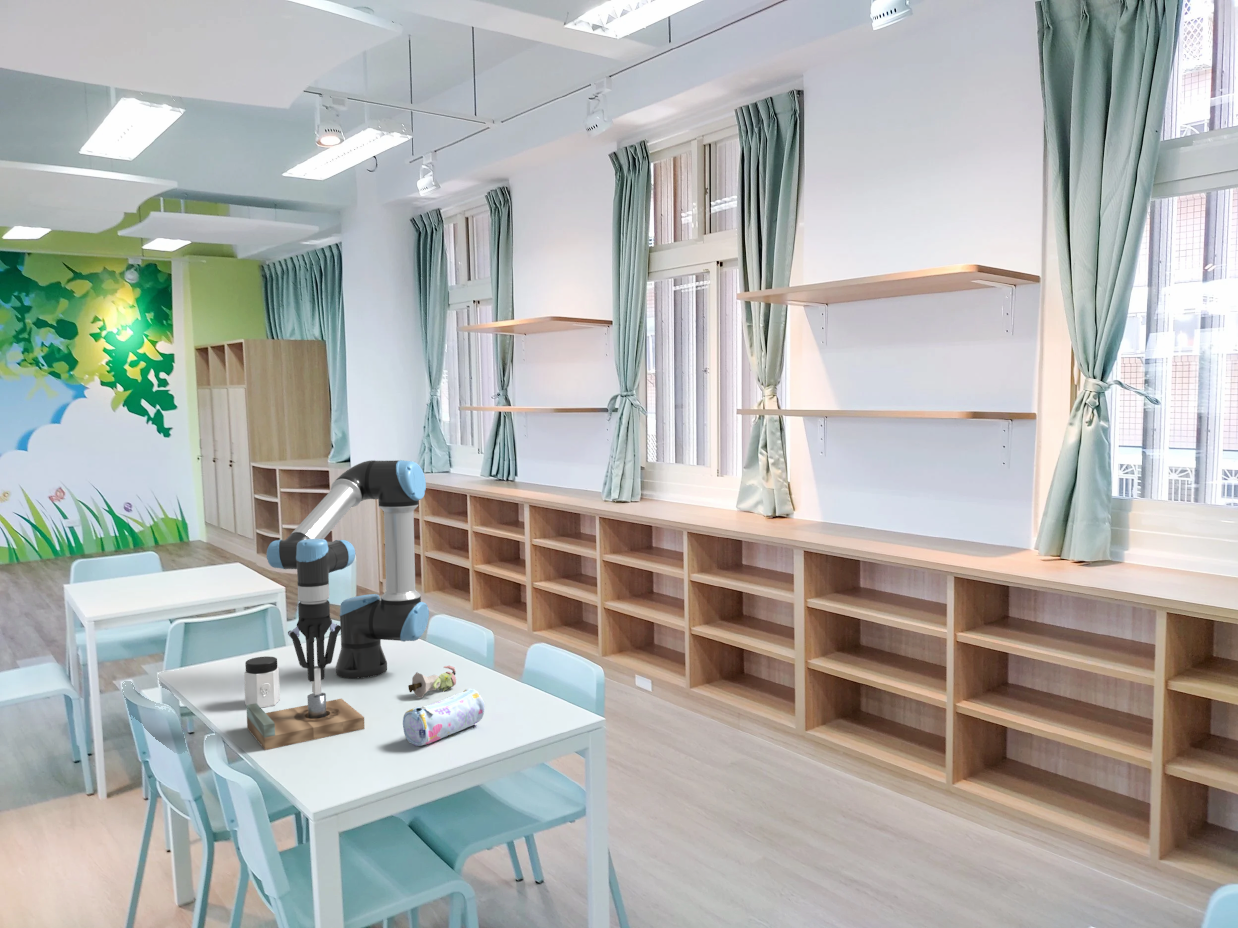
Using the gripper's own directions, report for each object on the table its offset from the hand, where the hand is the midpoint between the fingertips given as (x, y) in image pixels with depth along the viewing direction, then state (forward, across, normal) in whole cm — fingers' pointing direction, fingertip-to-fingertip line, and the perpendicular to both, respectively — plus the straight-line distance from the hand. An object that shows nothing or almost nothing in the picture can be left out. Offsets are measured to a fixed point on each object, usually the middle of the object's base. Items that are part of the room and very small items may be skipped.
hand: (316, 692), depth 231 cm
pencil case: (+9, -24, +24) cm, 35 cm away
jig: (+9, +3, 0) cm, 9 cm away
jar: (+9, +7, -27) cm, 29 cm away
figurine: (+9, -35, -7) cm, 37 cm away
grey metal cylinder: (+9, 0, 0) cm, 9 cm away
